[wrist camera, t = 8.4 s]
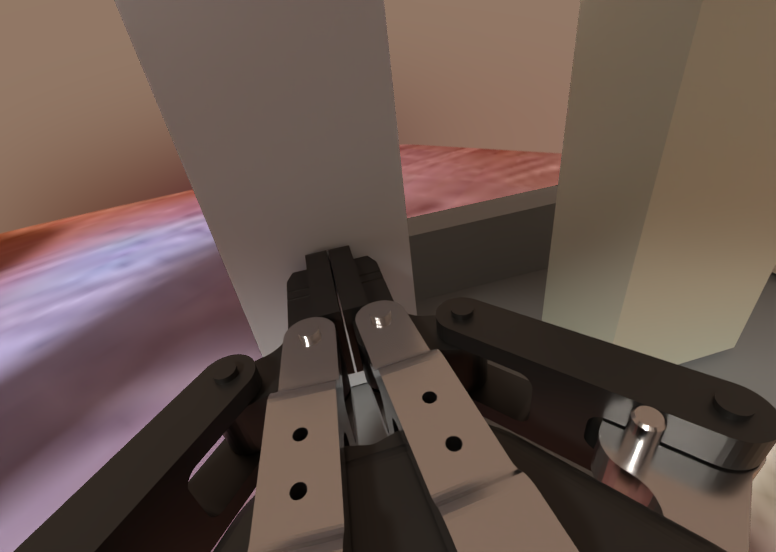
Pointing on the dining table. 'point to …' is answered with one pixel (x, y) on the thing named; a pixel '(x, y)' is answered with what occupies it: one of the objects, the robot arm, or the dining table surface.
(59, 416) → the dining table surface
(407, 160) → the dining table surface
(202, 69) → the tile three
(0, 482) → the dining table surface
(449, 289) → the tile stand
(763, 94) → the tile two
